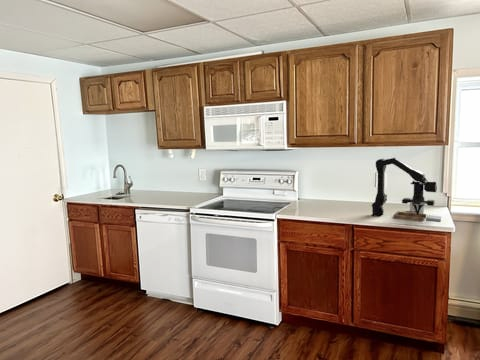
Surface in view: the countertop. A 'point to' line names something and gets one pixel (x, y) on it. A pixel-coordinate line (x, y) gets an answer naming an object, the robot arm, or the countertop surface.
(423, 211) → the light bulb box
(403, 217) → the walnut box
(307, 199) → the countertop surface
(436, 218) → the cover plate
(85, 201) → the countertop surface
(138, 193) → the countertop surface
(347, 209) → the countertop surface
